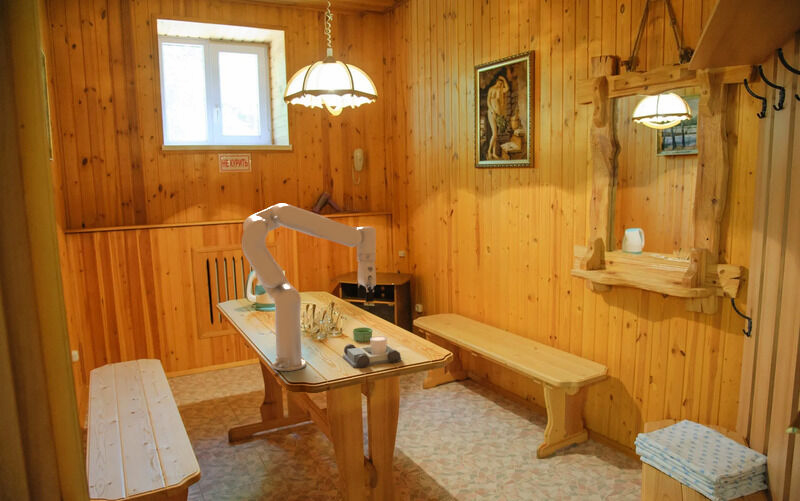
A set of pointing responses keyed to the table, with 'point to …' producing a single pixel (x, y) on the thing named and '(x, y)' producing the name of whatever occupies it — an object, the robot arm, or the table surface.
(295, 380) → the table surface
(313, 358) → the table surface
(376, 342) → the pale pink cup
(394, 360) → the chassis
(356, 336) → the ramekin
